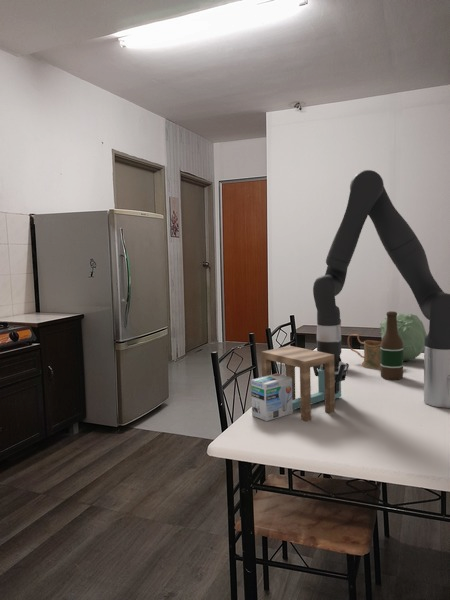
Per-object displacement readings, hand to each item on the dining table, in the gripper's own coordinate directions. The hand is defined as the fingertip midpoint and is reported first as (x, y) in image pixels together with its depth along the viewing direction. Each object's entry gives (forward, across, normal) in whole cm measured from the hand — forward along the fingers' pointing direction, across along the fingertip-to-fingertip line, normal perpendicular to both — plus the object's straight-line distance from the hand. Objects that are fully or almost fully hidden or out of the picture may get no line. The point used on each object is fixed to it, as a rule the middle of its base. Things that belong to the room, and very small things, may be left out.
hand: (329, 391), depth 148 cm
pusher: (+2, 0, -8) cm, 8 cm away
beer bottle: (+3, -1, +35) cm, 35 cm away
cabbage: (+3, -14, +60) cm, 62 cm away
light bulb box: (+2, -1, -23) cm, 23 cm away
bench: (+2, 0, -14) cm, 15 cm away
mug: (+3, -18, +44) cm, 48 cm away
